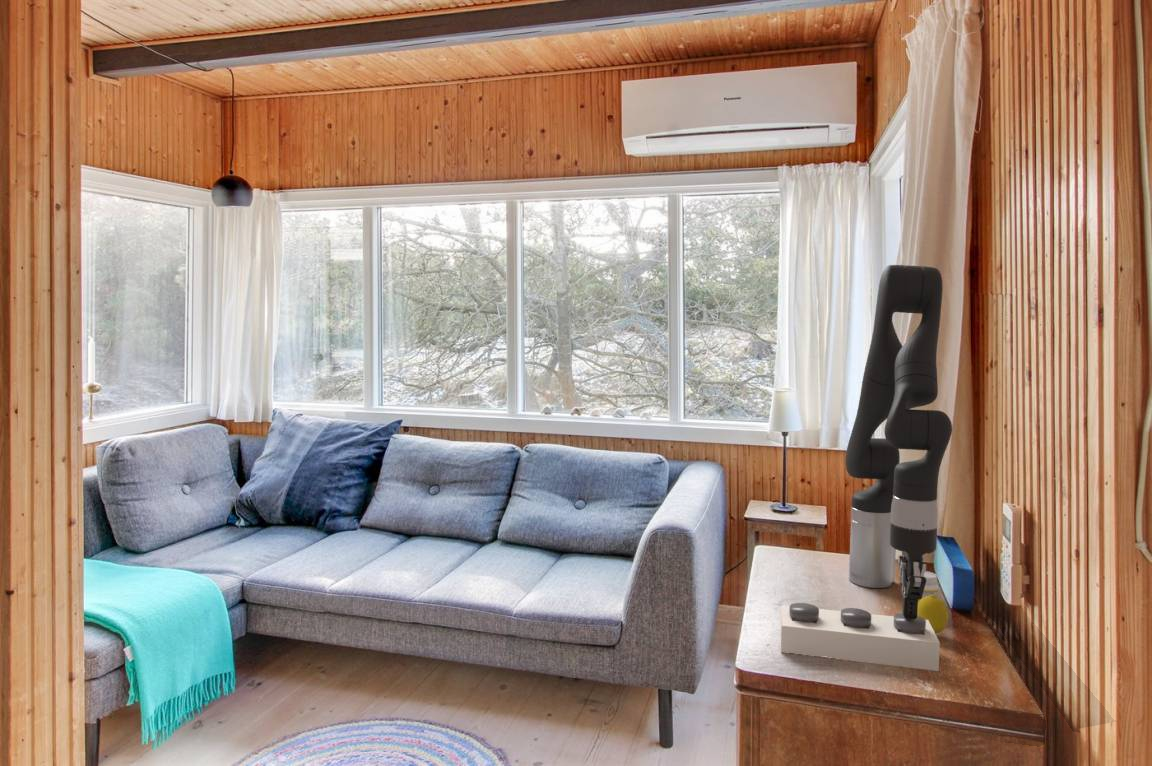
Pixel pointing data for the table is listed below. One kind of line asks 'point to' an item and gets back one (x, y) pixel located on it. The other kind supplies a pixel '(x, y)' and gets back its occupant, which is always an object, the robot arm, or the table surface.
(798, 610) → the knob
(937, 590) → the supplement bottle
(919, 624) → the knob
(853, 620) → the knob middle
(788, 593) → the table surface
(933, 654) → the knob panel
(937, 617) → the lemon
